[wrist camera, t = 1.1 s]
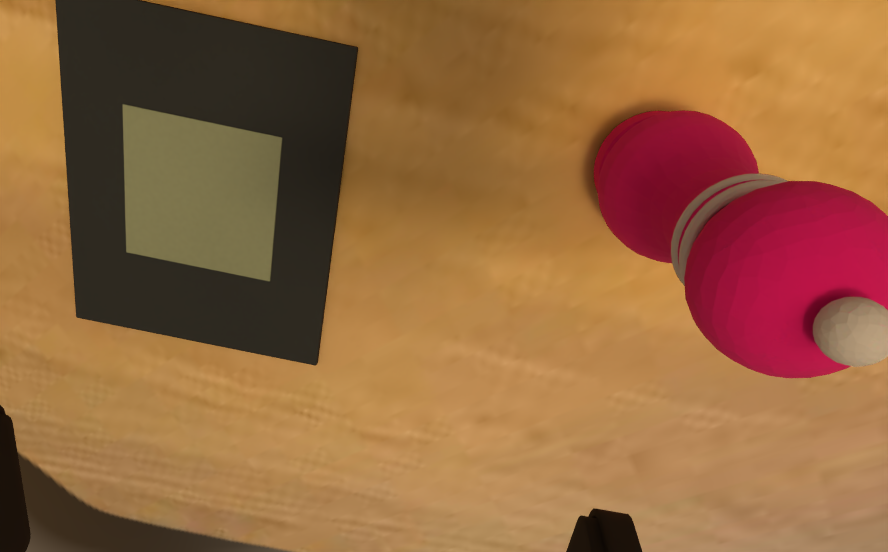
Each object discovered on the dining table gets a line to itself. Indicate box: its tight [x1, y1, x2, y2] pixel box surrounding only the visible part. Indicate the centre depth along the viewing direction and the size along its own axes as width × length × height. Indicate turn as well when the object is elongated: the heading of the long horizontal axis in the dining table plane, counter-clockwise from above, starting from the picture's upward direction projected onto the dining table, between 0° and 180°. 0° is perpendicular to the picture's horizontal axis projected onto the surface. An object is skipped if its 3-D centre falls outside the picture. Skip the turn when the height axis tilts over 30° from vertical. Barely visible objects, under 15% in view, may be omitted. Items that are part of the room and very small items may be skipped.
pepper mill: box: [594, 111, 888, 378], centre depth 23 cm, size 7×7×20 cm
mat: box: [56, 0, 358, 365], centre depth 34 cm, size 20×16×1 cm
